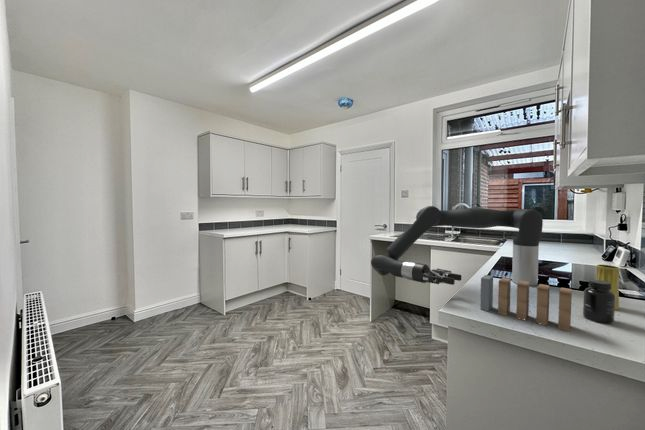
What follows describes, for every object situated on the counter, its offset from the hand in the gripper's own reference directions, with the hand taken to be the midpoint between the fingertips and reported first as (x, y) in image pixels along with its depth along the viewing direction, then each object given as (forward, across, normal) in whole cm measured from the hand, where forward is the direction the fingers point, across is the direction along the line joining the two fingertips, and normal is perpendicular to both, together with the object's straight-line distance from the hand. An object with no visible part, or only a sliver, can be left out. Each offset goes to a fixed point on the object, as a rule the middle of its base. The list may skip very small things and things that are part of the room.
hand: (457, 279), depth 99 cm
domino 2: (+15, 0, +8) cm, 17 cm away
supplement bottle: (+37, +14, +8) cm, 40 cm away
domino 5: (+30, 0, +8) cm, 31 cm away
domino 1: (+10, 0, +8) cm, 12 cm away
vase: (+39, +30, +8) cm, 50 cm away
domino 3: (+20, 0, +8) cm, 21 cm away
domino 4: (+25, 0, +8) cm, 26 cm away
